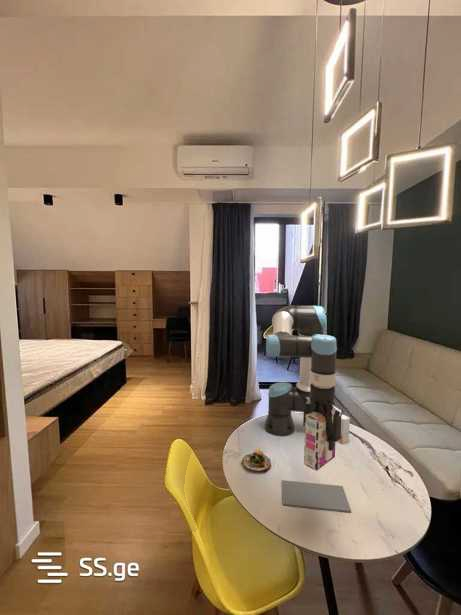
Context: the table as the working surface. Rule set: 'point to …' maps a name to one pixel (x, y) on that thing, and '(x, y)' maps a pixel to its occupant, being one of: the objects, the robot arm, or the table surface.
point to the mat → (315, 496)
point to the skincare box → (344, 429)
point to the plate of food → (257, 461)
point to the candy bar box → (315, 440)
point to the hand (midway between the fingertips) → (320, 453)
